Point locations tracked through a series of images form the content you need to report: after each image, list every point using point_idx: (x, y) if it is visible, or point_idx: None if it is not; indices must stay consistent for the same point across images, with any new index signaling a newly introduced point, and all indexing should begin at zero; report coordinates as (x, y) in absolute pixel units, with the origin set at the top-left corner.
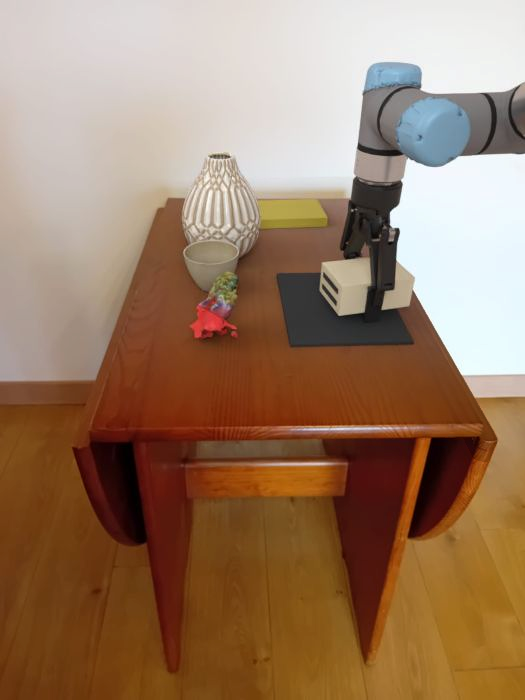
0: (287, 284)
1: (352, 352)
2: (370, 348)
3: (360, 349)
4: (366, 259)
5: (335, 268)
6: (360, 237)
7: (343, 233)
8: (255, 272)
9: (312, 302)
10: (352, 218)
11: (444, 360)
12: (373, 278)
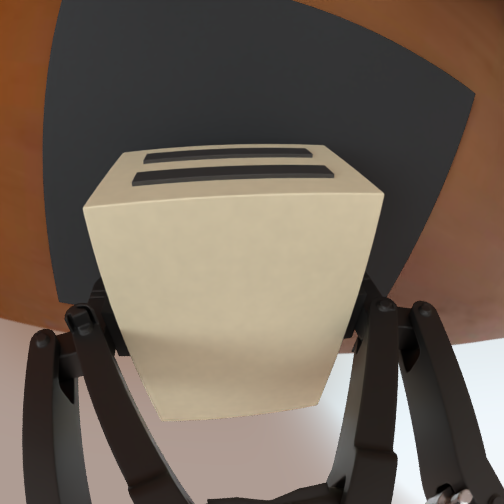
0: (421, 85)
1: (22, 152)
2: (37, 203)
3: (33, 176)
4: (322, 359)
5: (297, 235)
6: (348, 435)
7: (452, 362)
8: (493, 54)
9: (296, 106)
10: (448, 461)
11: (23, 320)
12: (86, 354)
